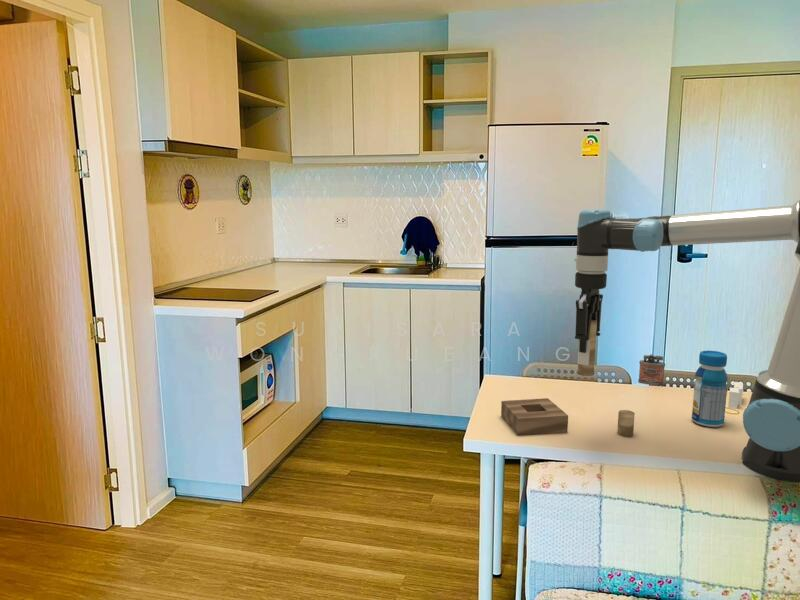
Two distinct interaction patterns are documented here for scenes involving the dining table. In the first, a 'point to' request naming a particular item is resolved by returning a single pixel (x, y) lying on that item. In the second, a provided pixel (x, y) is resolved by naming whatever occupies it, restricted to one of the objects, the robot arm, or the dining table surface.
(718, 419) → the beverage bottle
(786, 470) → the robot arm
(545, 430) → the pin block
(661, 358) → the lighter
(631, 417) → the short pin
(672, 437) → the dining table surface
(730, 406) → the napkin holder
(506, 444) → the dining table surface
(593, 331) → the long pin
